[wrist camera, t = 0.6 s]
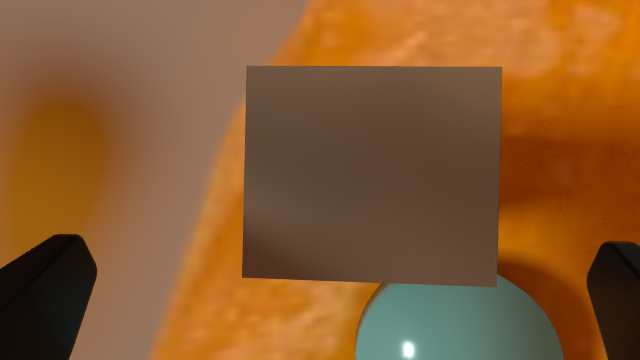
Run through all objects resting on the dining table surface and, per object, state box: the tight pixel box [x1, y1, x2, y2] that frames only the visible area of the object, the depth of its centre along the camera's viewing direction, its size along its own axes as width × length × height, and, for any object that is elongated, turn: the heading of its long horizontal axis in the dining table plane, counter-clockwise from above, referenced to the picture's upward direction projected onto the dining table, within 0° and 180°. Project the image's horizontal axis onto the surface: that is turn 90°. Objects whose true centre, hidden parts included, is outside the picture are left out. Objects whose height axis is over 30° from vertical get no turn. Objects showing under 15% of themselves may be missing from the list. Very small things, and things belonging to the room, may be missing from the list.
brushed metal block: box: [242, 66, 502, 287], centre depth 16 cm, size 5×5×13 cm
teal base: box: [355, 273, 564, 360], centre depth 21 cm, size 9×9×2 cm
